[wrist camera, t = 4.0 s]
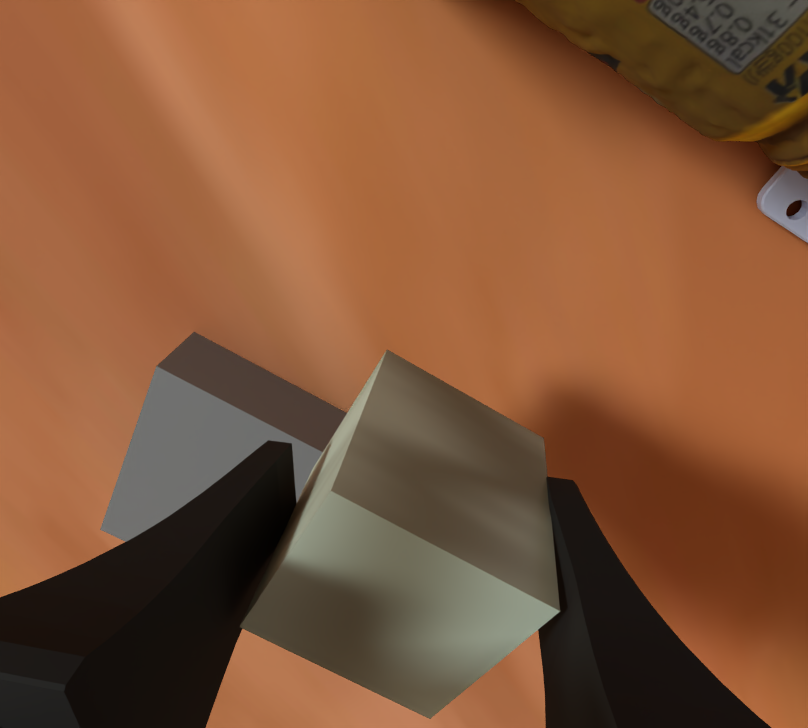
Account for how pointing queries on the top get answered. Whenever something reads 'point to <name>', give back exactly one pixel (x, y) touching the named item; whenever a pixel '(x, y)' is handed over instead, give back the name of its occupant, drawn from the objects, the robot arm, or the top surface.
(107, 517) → the plate
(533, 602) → the sage block
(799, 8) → the condiment
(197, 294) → the top surface
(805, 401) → the top surface
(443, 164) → the top surface
